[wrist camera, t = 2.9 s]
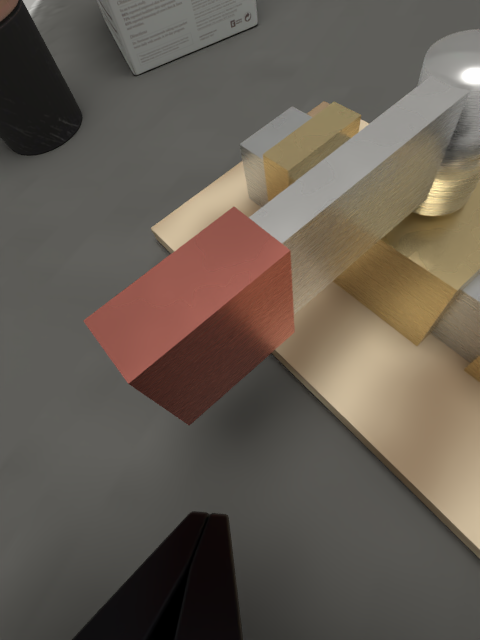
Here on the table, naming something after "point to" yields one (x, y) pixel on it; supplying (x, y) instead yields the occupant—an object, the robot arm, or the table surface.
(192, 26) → the supplement box
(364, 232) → the lever
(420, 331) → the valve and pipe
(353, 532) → the table surface
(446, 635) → the table surface
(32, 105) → the travel mug
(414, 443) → the oak board
